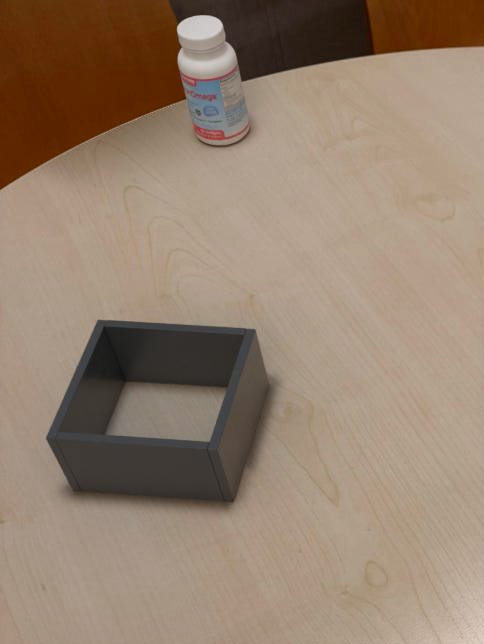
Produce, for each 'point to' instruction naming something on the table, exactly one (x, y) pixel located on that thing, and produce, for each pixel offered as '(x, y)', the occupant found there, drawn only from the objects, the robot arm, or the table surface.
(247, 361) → the open box
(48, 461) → the table surface
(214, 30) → the pill bottle
